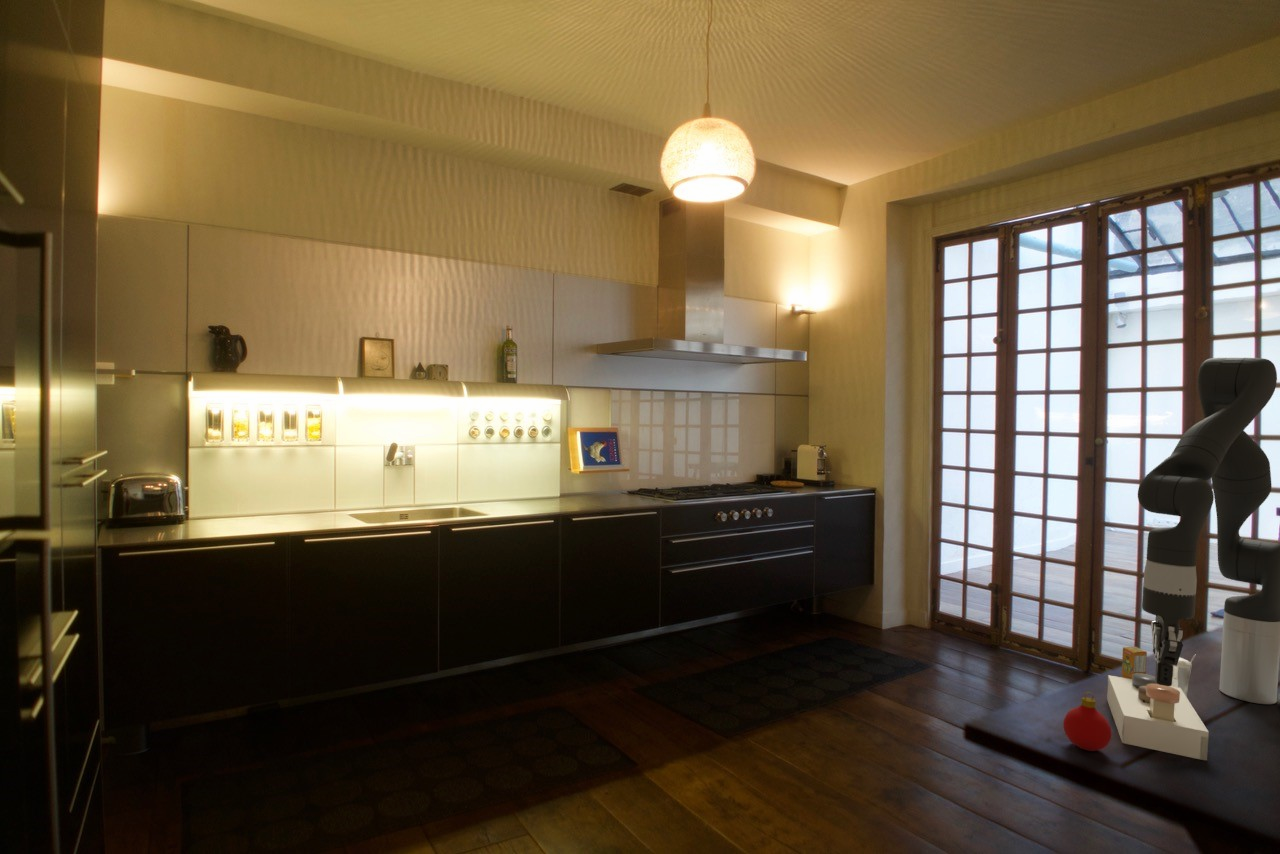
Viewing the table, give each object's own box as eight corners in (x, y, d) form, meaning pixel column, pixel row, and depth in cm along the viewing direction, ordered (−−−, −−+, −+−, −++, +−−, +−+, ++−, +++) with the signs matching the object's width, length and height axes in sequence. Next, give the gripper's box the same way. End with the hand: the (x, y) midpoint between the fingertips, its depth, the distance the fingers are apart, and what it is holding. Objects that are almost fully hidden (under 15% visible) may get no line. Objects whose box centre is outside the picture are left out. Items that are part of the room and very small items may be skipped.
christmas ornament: (1093, 739, 126) (1096, 684, 126) (1120, 759, 119) (1123, 701, 119) (1053, 738, 126) (1056, 683, 126) (1078, 758, 119) (1081, 700, 119)
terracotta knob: (1142, 715, 129) (1144, 681, 128) (1174, 722, 126) (1176, 687, 126) (1146, 726, 124) (1148, 690, 124) (1180, 732, 122) (1182, 696, 122)
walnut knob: (1134, 716, 135) (1136, 683, 135) (1165, 722, 133) (1167, 689, 133) (1138, 726, 131) (1140, 692, 131) (1170, 732, 129) (1172, 698, 129)
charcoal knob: (1128, 702, 142) (1130, 671, 142) (1157, 708, 140) (1159, 676, 139) (1132, 711, 138) (1134, 679, 137) (1162, 717, 135) (1164, 684, 135)
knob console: (1106, 699, 145) (1108, 675, 144) (1178, 712, 139) (1180, 687, 139) (1122, 742, 125) (1123, 715, 125) (1206, 760, 120) (1208, 731, 119)
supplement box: (1118, 692, 148) (1121, 646, 148) (1133, 692, 148) (1136, 646, 148) (1130, 699, 145) (1133, 651, 145) (1146, 699, 145) (1149, 651, 145)
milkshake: (1198, 707, 142) (1201, 658, 142) (1169, 704, 143) (1171, 655, 143) (1186, 698, 146) (1188, 651, 146) (1157, 695, 148) (1160, 648, 147)
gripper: (1205, 599, 117) (1198, 702, 117) (1187, 583, 129) (1181, 676, 129) (1150, 592, 120) (1144, 692, 121) (1137, 577, 132) (1132, 668, 133)
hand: (1163, 683), depth 125 cm, fingers closed
